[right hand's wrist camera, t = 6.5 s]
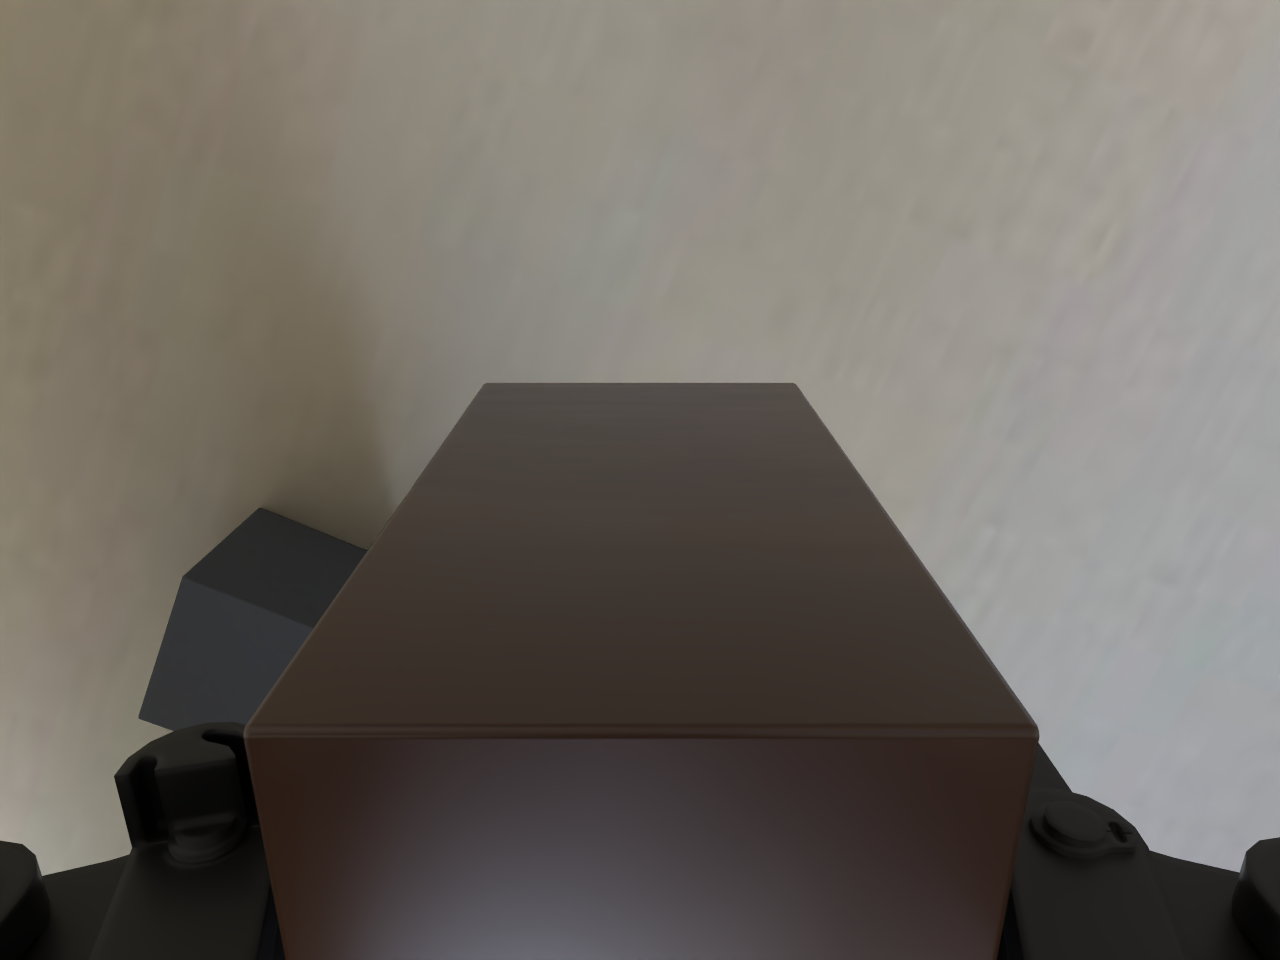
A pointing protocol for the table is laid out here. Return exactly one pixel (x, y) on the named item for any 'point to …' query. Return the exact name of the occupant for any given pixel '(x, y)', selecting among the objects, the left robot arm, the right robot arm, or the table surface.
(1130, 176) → the table surface
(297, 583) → the grey rubber block
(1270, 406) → the table surface
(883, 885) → the walnut beam
